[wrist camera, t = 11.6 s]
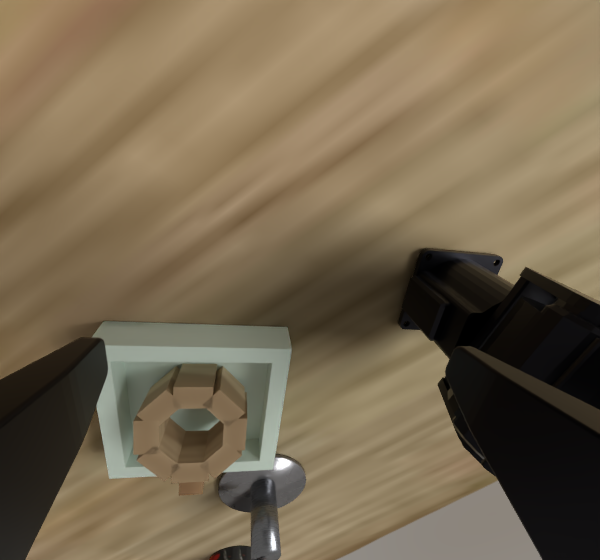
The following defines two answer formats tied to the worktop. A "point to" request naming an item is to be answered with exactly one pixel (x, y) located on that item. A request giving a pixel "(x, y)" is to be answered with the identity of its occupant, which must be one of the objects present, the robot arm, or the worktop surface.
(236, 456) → the ring
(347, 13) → the worktop surface
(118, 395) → the tray
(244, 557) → the deodorant
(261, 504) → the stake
